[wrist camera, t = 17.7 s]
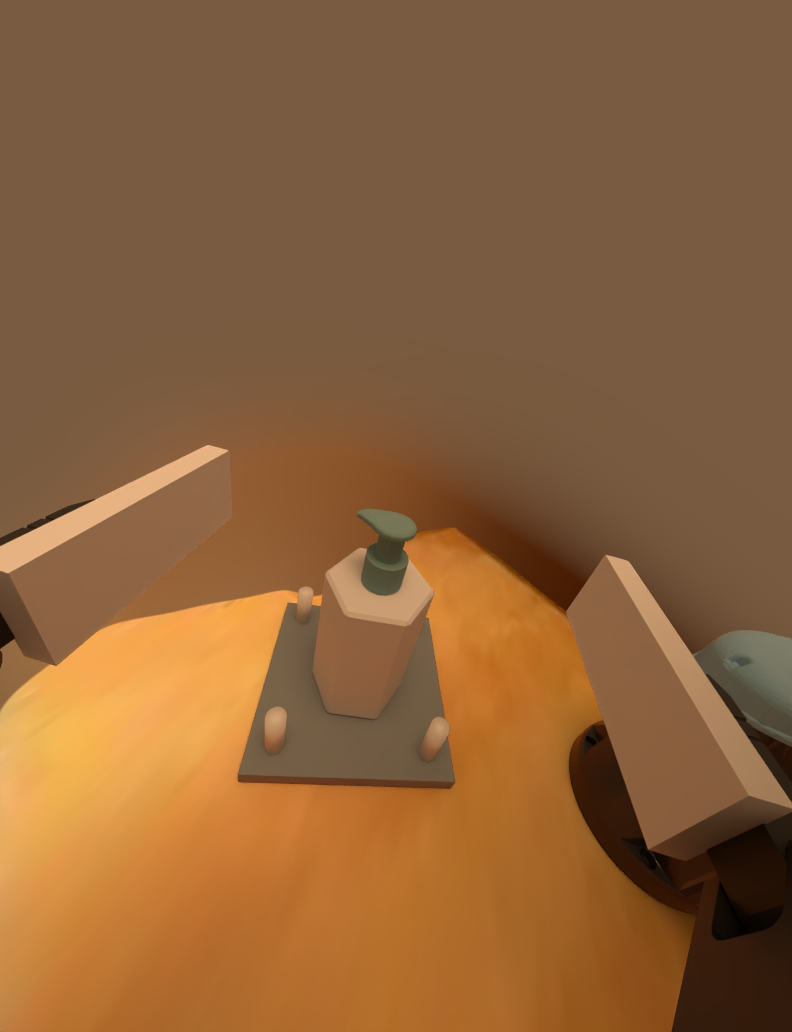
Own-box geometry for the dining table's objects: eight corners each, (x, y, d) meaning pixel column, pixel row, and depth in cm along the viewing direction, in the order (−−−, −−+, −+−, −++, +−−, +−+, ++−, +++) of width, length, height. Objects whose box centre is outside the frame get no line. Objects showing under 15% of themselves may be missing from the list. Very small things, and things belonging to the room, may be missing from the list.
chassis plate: (425, 624, 50) (437, 593, 47) (450, 788, 34) (471, 758, 30) (287, 610, 47) (289, 575, 44) (238, 782, 31) (235, 747, 27)
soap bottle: (352, 628, 45) (384, 483, 34) (410, 668, 42) (467, 523, 31) (295, 686, 37) (311, 521, 26) (362, 741, 34) (414, 581, 23)
